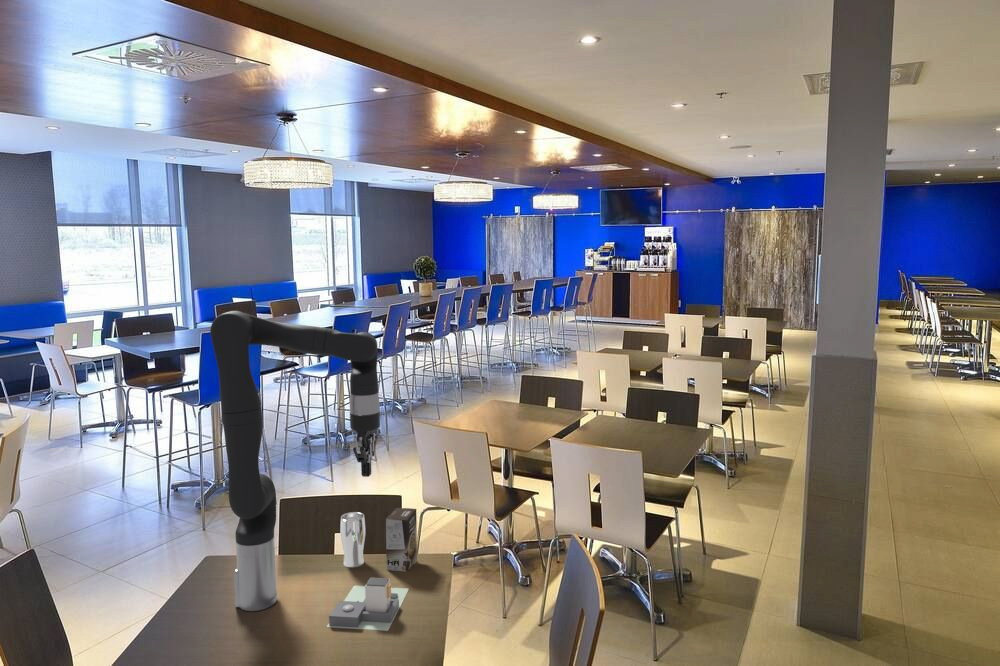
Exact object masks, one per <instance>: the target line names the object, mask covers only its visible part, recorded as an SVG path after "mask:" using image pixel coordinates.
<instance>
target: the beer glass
mask: <svg viewBox="0 0 1000 666" xmlns="http://www.w3.org/2000/svg"><path fill="white" fill-rule="evenodd" d="M339 527H340V529H339V530H340V531H339V532H340V541H341V546H342V550H343V566H344V567H347V568H358V567H361V566H363V565H364V563H365V560H364V546H365V540H366V520H365V514H364V513H362V512H358V511H352V512H347V513H344V514H342V515H341V516H340V525H339Z"/></svg>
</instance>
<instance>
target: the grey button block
mask: <svg viewBox="0 0 1000 666" xmlns="http://www.w3.org/2000/svg"><path fill="white" fill-rule="evenodd" d="M362 611H366V602H359V601H357V602H352V601H344V600H339V601H338V602H337V604H336V605H335V606H334V608H333V609H332V611H331V612H330V613H329V615H328V624H329V626H341V627H357V628H358V626H359V625H360V623H361V613H362Z"/></svg>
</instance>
